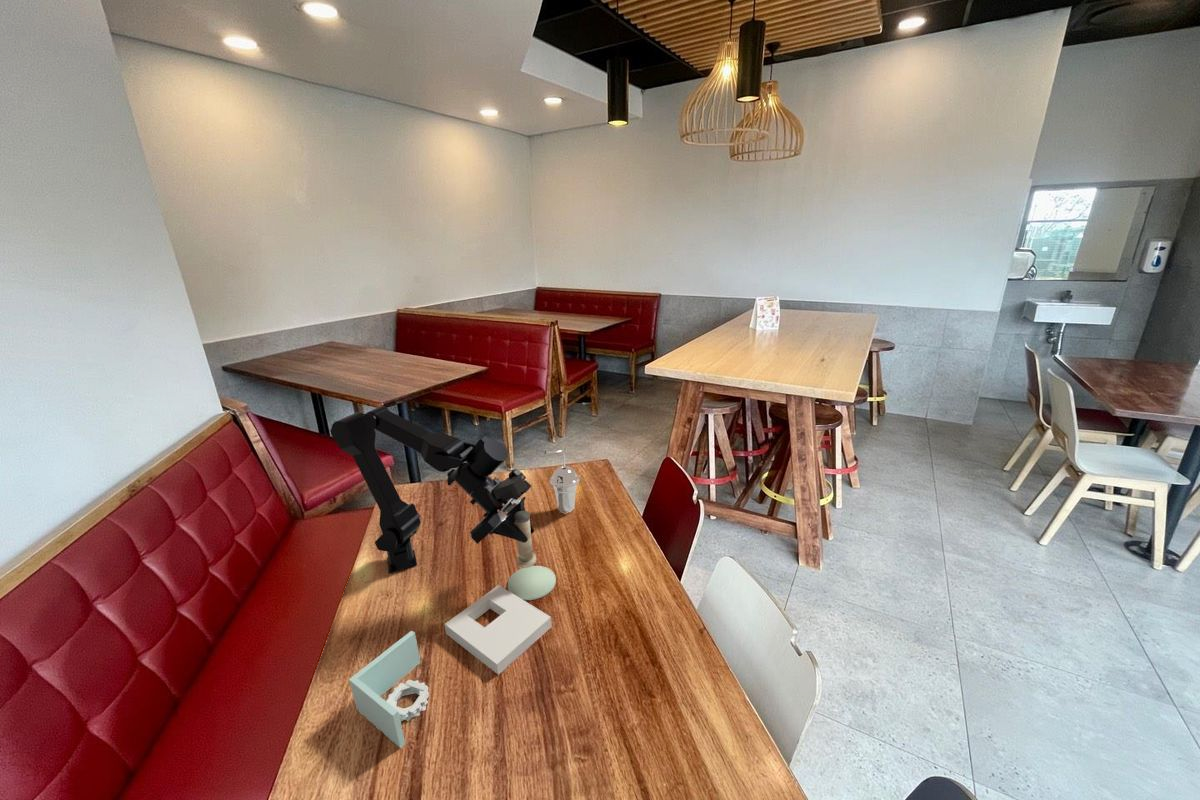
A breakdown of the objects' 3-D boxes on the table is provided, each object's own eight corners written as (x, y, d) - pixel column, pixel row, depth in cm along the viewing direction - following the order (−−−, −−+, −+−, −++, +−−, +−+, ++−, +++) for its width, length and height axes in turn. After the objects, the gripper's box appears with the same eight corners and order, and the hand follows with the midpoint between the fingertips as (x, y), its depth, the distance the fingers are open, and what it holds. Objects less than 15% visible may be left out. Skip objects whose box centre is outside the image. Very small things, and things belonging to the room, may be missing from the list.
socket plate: (446, 633, 95) (444, 624, 95) (499, 594, 106) (498, 584, 105) (498, 674, 86) (497, 664, 85) (551, 626, 96) (550, 616, 95)
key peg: (513, 565, 104) (508, 518, 100) (521, 553, 108) (517, 507, 104) (531, 569, 103) (527, 521, 99) (539, 556, 107) (535, 510, 103)
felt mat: (502, 576, 111) (501, 575, 111) (545, 562, 116) (545, 560, 116) (516, 606, 102) (515, 604, 102) (563, 589, 106) (563, 587, 106)
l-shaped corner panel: (401, 750, 74) (393, 715, 72) (357, 712, 80) (348, 679, 78) (460, 691, 83) (455, 659, 81) (417, 661, 90) (411, 630, 87)
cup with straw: (580, 518, 134) (577, 453, 128) (548, 518, 134) (543, 454, 128) (581, 502, 142) (578, 441, 136) (551, 502, 142) (547, 441, 136)
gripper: (477, 486, 91) (534, 543, 91) (520, 447, 108) (568, 495, 108) (447, 516, 95) (501, 571, 96) (492, 474, 112) (538, 520, 113)
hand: (529, 536), depth 103 cm, fingers closed on key peg, 3 cm apart
